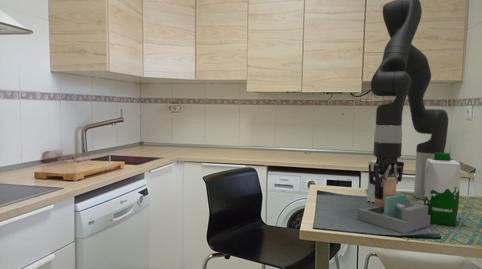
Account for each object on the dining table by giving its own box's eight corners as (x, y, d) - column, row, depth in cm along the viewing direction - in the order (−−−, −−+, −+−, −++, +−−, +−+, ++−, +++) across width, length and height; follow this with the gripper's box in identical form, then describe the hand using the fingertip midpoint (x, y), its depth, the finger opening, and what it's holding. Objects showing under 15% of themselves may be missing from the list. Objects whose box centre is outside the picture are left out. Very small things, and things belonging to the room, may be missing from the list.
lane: (382, 212, 113) (383, 194, 112) (430, 226, 100) (431, 205, 100) (357, 218, 106) (358, 199, 105) (404, 233, 93) (405, 211, 93)
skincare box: (375, 198, 132) (377, 158, 131) (392, 201, 128) (394, 160, 127) (366, 201, 126) (367, 160, 125) (383, 205, 122) (385, 162, 121)
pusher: (401, 217, 105) (402, 193, 105) (411, 219, 103) (412, 196, 102) (383, 221, 101) (384, 197, 100) (393, 224, 98) (395, 199, 97)
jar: (382, 201, 109) (383, 174, 108) (399, 206, 104) (400, 177, 104) (370, 204, 106) (372, 175, 105) (387, 208, 101) (388, 179, 101)
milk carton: (453, 218, 108) (457, 153, 106) (459, 227, 99) (464, 156, 98) (421, 215, 111) (424, 151, 109) (424, 223, 102) (428, 154, 101)
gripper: (391, 138, 111) (388, 192, 112) (361, 140, 103) (358, 197, 104) (414, 140, 105) (411, 197, 106) (384, 142, 97) (381, 203, 98)
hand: (385, 197), depth 105 cm, fingers closed on jar, 5 cm apart
